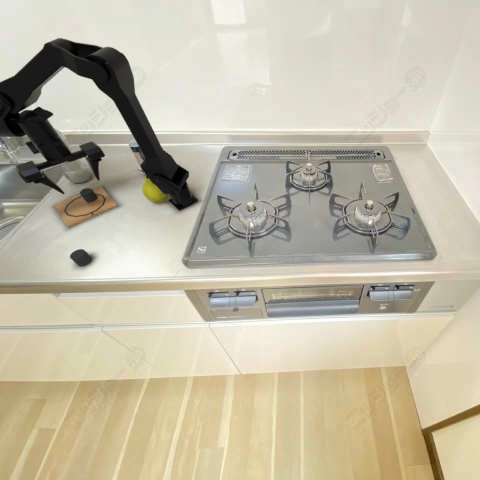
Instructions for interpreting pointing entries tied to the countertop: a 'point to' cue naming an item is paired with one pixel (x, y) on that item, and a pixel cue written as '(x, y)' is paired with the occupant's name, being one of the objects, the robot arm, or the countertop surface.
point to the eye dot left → (81, 257)
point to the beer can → (136, 151)
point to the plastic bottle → (74, 166)
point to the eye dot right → (88, 195)
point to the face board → (84, 207)
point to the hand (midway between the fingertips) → (81, 186)
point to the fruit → (153, 191)
